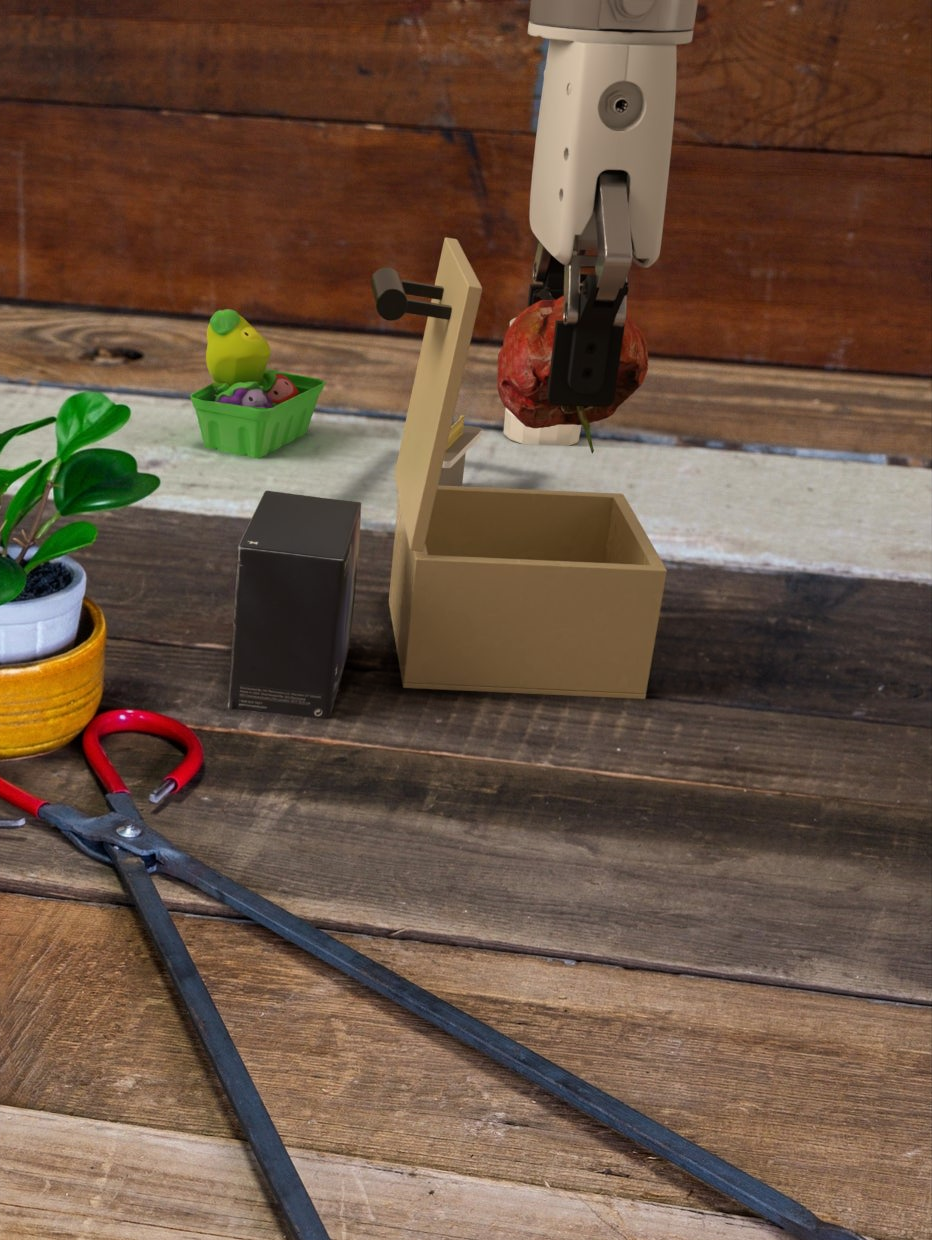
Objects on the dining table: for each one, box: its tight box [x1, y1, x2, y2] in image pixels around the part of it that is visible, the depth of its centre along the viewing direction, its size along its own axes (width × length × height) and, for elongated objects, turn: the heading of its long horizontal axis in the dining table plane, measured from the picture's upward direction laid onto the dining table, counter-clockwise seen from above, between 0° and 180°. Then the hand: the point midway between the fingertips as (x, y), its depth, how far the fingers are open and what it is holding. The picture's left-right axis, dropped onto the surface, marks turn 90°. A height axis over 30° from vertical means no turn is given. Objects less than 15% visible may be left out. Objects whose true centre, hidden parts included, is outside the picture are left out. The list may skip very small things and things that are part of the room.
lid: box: [370, 237, 483, 552], centre depth 100 cm, size 15×14×5 cm
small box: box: [226, 490, 362, 720], centre depth 100 cm, size 11×6×10 cm, turn 170°
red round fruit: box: [496, 287, 649, 454], centre depth 85 cm, size 7×7×10 cm
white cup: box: [503, 317, 583, 447], centre depth 148 cm, size 8×8×10 cm
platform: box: [438, 414, 483, 486], centre depth 132 cm, size 12×18×7 cm, turn 157°
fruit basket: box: [189, 308, 326, 459], centre depth 143 cm, size 11×9×11 cm
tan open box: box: [388, 485, 668, 700], centre depth 106 cm, size 15×14×9 cm
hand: (565, 380), depth 85 cm, fingers closed on red round fruit, 7 cm apart
